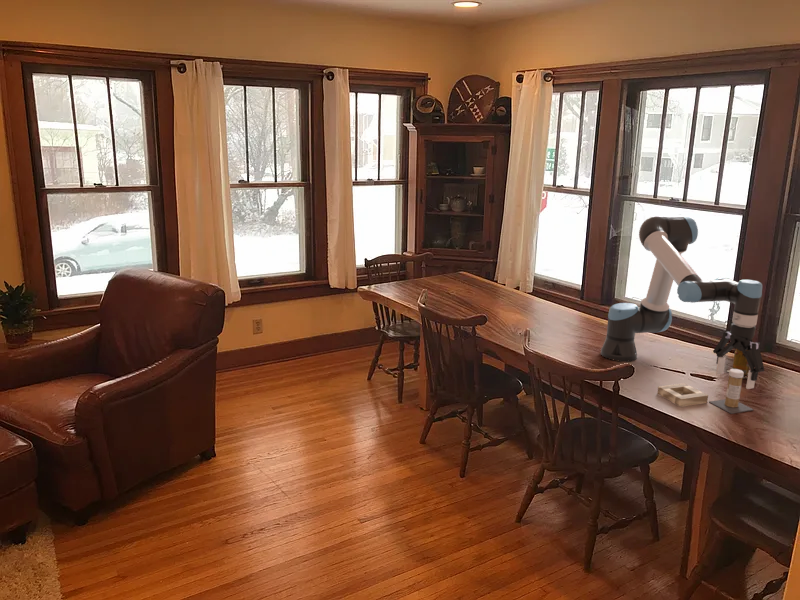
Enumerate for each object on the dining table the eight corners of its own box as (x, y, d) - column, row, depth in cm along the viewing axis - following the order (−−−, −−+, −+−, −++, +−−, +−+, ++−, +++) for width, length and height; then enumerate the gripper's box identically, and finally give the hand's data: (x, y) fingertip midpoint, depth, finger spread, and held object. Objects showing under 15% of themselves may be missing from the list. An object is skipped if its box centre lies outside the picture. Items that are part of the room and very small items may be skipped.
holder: (657, 393, 234) (658, 386, 233) (683, 390, 237) (684, 383, 237) (680, 406, 223) (681, 399, 222) (707, 402, 226) (708, 395, 226)
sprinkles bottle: (727, 401, 226) (732, 367, 223) (740, 405, 223) (745, 370, 220) (722, 405, 223) (727, 370, 220) (735, 409, 220) (741, 374, 217)
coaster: (709, 402, 227) (709, 401, 227) (731, 399, 230) (731, 398, 229) (730, 413, 217) (731, 412, 217) (753, 410, 220) (753, 409, 220)
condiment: (741, 370, 259) (745, 342, 256) (756, 377, 251) (761, 349, 248) (726, 371, 257) (730, 344, 254) (740, 378, 249) (745, 350, 246)
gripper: (708, 315, 226) (699, 369, 232) (765, 336, 203) (754, 396, 209) (724, 313, 228) (715, 367, 234) (783, 334, 205) (772, 393, 211)
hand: (734, 380), depth 221 cm, fingers open, 13 cm apart
